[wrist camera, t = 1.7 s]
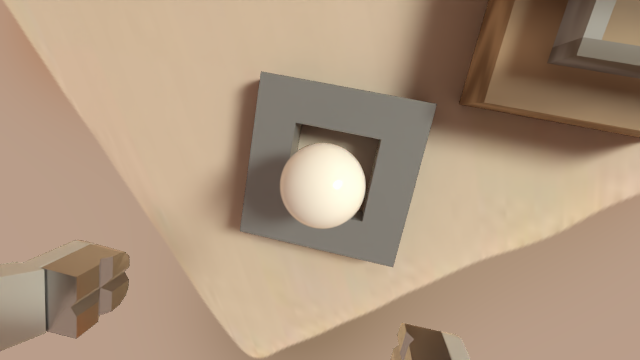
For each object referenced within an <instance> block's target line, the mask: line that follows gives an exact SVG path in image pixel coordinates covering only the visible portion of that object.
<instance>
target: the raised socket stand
mask: <svg viewBox="0 0 640 360" xmlns="http://www.w3.org/2000/svg"><path fill="white" fill-rule="evenodd" d="M459 104H460V105H466V106H471V107H477V108H482V109H488V110H493V111H498V112H504V113H509V114H515V115H520V116H526V117H531V118H537V119H542V120H547V121H553V122H558V123H564V124H569V125H575V126H580V127H586V128H591V129H596V130H602V131H607V132H613V133H618V134H624V135H629V136H635V137H640V0H489V1H488V4H487V8H486V11H485V15H484V18H483V22H482V25H481V29H480V32H479V36H478V39H477V43H476V46H475V50H474V53H473V57H472V60H471V64H470V67H469V71H468V75H467V78H466V82H465V85H464V89H463V92H462V96H461V99H460V103H459Z"/></svg>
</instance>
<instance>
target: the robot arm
mask: <svg viewBox="0 0 640 360" xmlns="http://www.w3.org/2000/svg"><path fill="white" fill-rule="evenodd" d="M128 267H129V255H128V254H126V252H123V251H120V250H116V249H112V248H109V247H105V246H101V245H98V244H94V243H90V242H86V241H82V240H74V241H72V242H70V243H68V244H65V245H63V246H60V247H58V248H56V249H53V250H51V251H49V252H46V253H44V254H42V255H40V256H37V257H35V258H33V259H30V260H28V261H26V262H23V263H18V262H13V263H7V264H0V351H2V350H5V349H7V348H9V347H12V346H15V345H17V344H19V343H22V342H25V341H27V340H29V339H32V338H34V337H37V336H39V335H42V334H44V333H46V331H47V332H52V333H56V334H60V335H64V336H68V337H72V338H78V337H79V336H81V335H82V334H83V333H84V332H86V331H87V330H88V329H90V328H91V327H92V326H93V325H95V324H96V323H97V322H98V320H99V316H100V315H102V314H105V313H108V312H111V311H113V310H114V309H115V308H116V307H117V306H118V305H120V303H121V302H122V300H123V299H124V297H125V296H126V293H127V290H128V285H129V279H128V277H127V276H126V274H125V271H126V269H127V268H128ZM397 337H398V344H399V345H398V346H397V347H395V348H394V349H393V352H392V356H391V360H471V359H470V357H469V355H468V352H467V350H466V348H465V345H464V343H463V341H462V339H461V337H459V336H458V335H455V334H451V333H446V332H441V331H435V330H431V329H426V328H422V327H418V326H414V325H410V324H406V323H402V324H401V326H400V328H399V331H398V334H397Z"/></svg>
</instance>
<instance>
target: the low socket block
mask: <svg viewBox="0 0 640 360" xmlns="http://www.w3.org/2000/svg"><path fill="white" fill-rule="evenodd" d="M436 106H437V104H435V103H429V102H424V101H418V100H413V99H408V98H402V97H397V96H391V95H386V94H381V93H375V92H370V91H364V90H359V89H354V88H348V87H343V86H337V85H332V84H326V83H321V82H316V81H310V80H305V79H299V78H294V77H289V76H283V75H278V74H272V73H267V72H262V71H261V75H260V83H259V90H258V98H257V105H256V113H255V120H254V128H253V136H252V143H251V151H250V158H249V166H248V173H247V181H246V189H245V196H244V204H243V211H242V219H241V226H240V231H242V232H246V233H250V234H254V235H259V236H263V237H267V238H271V239H275V240H280V241H284V242H288V243H292V244H297V245H301V246H305V247H309V248H314V249H318V250H322V251H326V252H330V253H335V254H339V255H343V256H347V257H352V258H356V259H360V260H364V261H369V262H373V263H377V264H381V265H386V266H390V267H393V266H394V262H395V258H396V255H397V251H398V247H399V243H400V240H401V236H402V232H403V229H404V225H405V221H406V217H407V214H408V210H409V206H410V203H411V199H412V195H413V191H414V188H415V184H416V180H417V176H418V173H419V169H420V165H421V162H422V158H423V154H424V150H425V147H426V143H427V139H428V136H429V132H430V128H431V124H432V121H433V117H434V113H435V109H436ZM302 124H305V125H310V126H315V127H320V128H325V129H330V130H335V131H340V132H345V133H350V134H355V135H360V136H365V137H370V138H375V139H379V143H378V147H377V151H376V156H375V160H374V164H373V168H372V173H371V177H370V181H369V186H368V190H367V194H366V199H365V203H364V207H363V211H357V212H356V214H355V215H354V216H353V217H352V218H351V219H349V220H348V221H347V222H345V223H344V224H342V225H339V226H337V227H334V228H329V229H317V228H312V227H309V226H306V225H304V224H302V223H300V222H299V221H297V220H296V219H295V218H294V217H292V215H291V214H290V213H289V212H288V211H287V209H286V208H285V206H284V204H283V201H282V199H281V195H280V177H281V173H282V170H283V168H284V166H285V164H286V162H287V161H288V160H289V158H290V157H291V156H292V155H293V154H294V153H295V152H297V149H298V143H299V137H300V131H301V125H302Z"/></svg>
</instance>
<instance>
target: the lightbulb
mask: <svg viewBox="0 0 640 360" xmlns="http://www.w3.org/2000/svg"><path fill="white" fill-rule="evenodd" d="M365 191H366V181H365V175H364V172H363V169H362V167H361V165H360V163H359V162H358V160H357V159H356V158H355V157H354V156H353V155H352V154H351V153H350V152H349V151H347V150H346V149H344V148H342V147H340V146H338V145H335V144H331V143H314V144H310V145H307V146H305V147H303V148H301V149H299V150H298V151H297V152H295V153H294V154H293V155H292V156H291V157H290V158H289V160H288V161H287V162H286V164H285V166H284V168H283V170H282V173H281V177H280V195H281V199H282V201H283V204H284V206H285V208H286V209H287V211H288V212H289V213H290V214H291V215H292V217H294V218H295V219H296V220H297V221H299V222H300V223H302V224H304V225H306V226H309V227H312V228H317V229H329V228H334V227H337V226H339V225H342V224H344V223H345V222H347V221H348V220H349V219H351V218H352V217H353V216H354V215H355V214H356V212H357V211H358V210H359V208H360V206H361V204H362V202H363V199H364V196H365Z"/></svg>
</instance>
